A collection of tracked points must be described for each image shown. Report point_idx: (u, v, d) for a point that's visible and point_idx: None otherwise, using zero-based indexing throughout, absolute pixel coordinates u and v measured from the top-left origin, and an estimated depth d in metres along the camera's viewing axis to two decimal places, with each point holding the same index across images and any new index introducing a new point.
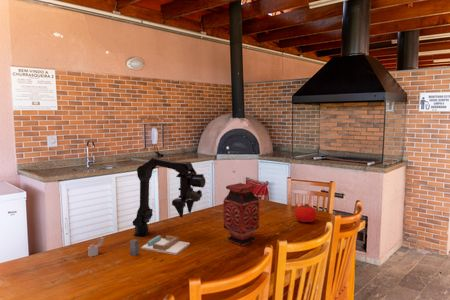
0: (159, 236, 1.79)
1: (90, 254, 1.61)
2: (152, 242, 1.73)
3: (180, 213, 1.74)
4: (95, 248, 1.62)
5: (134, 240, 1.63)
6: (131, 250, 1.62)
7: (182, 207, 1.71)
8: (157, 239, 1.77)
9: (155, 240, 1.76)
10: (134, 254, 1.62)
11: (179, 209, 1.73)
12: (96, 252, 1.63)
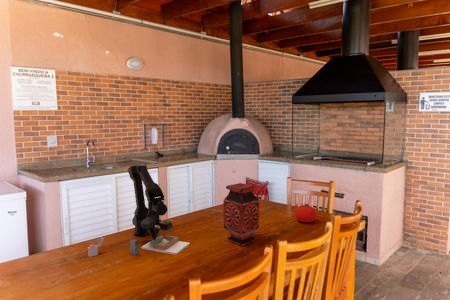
0: (162, 236, 1.79)
1: (90, 254, 1.61)
2: (155, 242, 1.72)
3: None
4: (95, 248, 1.62)
5: (134, 240, 1.63)
6: (131, 250, 1.62)
7: (148, 229, 1.74)
8: (160, 239, 1.77)
9: (158, 240, 1.75)
10: (134, 254, 1.62)
11: None
12: (96, 252, 1.63)
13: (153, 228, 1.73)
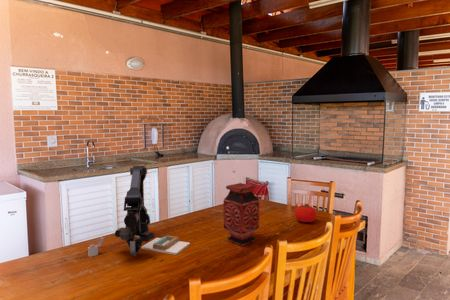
0: (165, 237, 1.78)
1: (90, 254, 1.61)
2: (159, 243, 1.72)
3: None
4: (95, 248, 1.62)
5: None
6: (131, 250, 1.62)
7: None
8: (164, 240, 1.76)
9: (162, 241, 1.74)
10: (134, 254, 1.62)
11: None
12: (96, 252, 1.63)
13: None
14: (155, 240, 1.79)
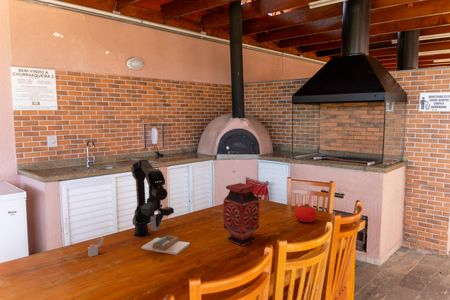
0: (165, 237, 1.78)
1: (90, 254, 1.61)
2: (159, 243, 1.72)
3: None
4: (95, 248, 1.62)
5: None
6: (152, 225, 1.68)
7: (146, 214, 1.68)
8: (164, 240, 1.76)
9: (162, 241, 1.74)
10: (155, 228, 1.67)
11: None
12: (96, 252, 1.63)
13: (156, 214, 1.66)
14: (155, 240, 1.79)
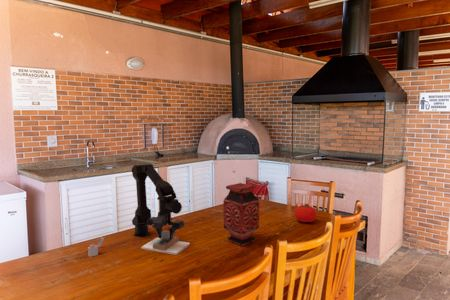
0: None
1: (90, 254, 1.61)
2: (159, 243, 1.72)
3: None
4: (95, 248, 1.62)
5: (165, 231, 1.73)
6: (162, 240, 1.72)
7: (154, 227, 1.73)
8: None
9: None
10: None
11: None
12: (96, 252, 1.63)
13: (169, 228, 1.69)
14: (155, 240, 1.79)
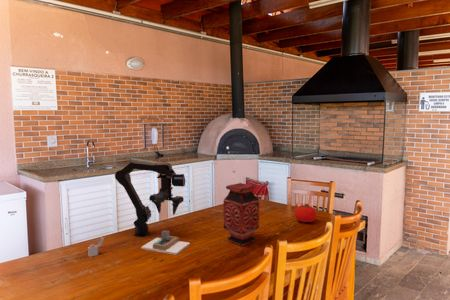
0: None
1: (90, 254, 1.61)
2: (159, 243, 1.72)
3: None
4: (95, 248, 1.62)
5: (165, 231, 1.73)
6: (162, 240, 1.72)
7: (153, 202, 1.88)
8: None
9: None
10: None
11: None
12: (96, 252, 1.63)
13: (173, 203, 1.84)
14: (155, 240, 1.79)
